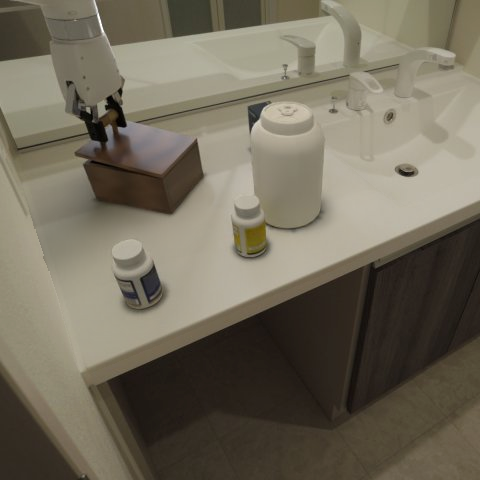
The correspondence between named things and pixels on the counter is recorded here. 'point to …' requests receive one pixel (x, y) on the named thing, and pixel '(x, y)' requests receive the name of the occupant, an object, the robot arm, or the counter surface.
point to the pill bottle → (136, 274)
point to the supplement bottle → (249, 226)
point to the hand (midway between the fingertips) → (109, 132)
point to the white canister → (288, 164)
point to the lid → (137, 147)
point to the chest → (146, 183)
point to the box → (255, 113)
